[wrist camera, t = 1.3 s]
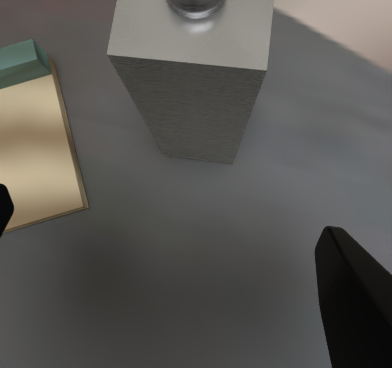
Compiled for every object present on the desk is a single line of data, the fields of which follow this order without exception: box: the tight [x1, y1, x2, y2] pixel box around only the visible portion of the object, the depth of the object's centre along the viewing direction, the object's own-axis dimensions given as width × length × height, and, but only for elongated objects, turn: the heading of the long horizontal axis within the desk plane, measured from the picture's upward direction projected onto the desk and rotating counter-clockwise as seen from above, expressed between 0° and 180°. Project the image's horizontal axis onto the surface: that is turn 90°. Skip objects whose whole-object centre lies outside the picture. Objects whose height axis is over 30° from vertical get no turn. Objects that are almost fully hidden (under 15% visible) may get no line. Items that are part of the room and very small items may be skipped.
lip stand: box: [0, 39, 89, 233], centre depth 21 cm, size 12×9×3 cm
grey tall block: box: [107, 0, 274, 164], centre depth 16 cm, size 5×5×14 cm
